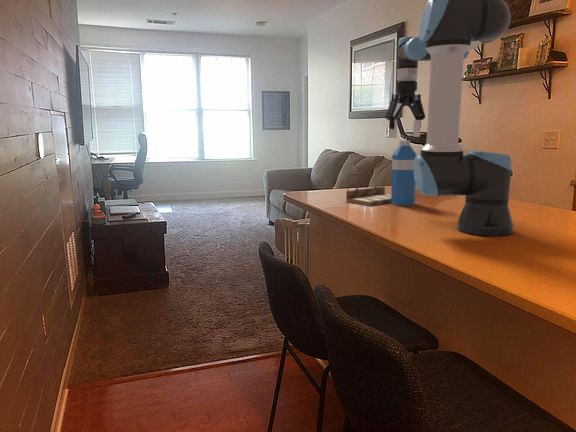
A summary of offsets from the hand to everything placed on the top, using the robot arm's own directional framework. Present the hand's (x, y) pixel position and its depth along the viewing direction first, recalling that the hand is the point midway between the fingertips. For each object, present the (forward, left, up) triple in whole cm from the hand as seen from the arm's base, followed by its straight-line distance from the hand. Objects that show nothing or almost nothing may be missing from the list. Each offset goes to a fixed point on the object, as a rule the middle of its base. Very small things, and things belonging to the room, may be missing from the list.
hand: (405, 137), depth 177 cm
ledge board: (-3, +11, -26) cm, 29 cm away
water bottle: (0, 0, -26) cm, 26 cm away
